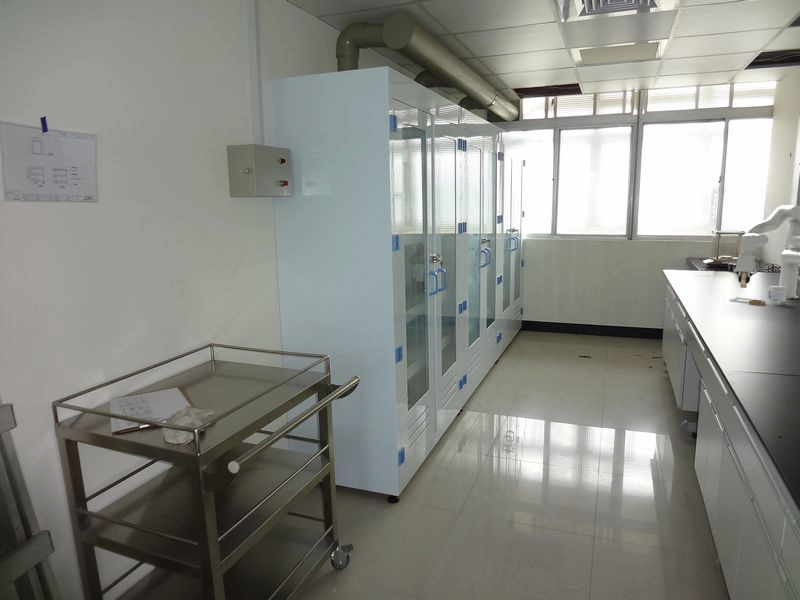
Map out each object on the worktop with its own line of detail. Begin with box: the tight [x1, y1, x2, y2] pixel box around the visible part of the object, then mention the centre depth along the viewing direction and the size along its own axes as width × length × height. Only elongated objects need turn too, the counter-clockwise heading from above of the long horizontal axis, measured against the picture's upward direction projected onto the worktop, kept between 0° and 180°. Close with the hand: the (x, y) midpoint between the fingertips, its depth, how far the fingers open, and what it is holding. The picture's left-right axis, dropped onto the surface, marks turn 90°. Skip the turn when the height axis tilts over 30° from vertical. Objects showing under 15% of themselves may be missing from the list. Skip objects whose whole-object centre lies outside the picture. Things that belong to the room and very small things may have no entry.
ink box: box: [766, 285, 788, 306], centre depth 337 cm, size 9×5×12 cm, turn 84°
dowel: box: [739, 272, 748, 289], centre depth 347 cm, size 3×3×10 cm
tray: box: [729, 296, 756, 304], centre depth 349 cm, size 12×11×2 cm
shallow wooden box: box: [748, 298, 767, 307], centre depth 338 cm, size 7×7×3 cm
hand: (743, 282), depth 347 cm, fingers closed on dowel, 3 cm apart
